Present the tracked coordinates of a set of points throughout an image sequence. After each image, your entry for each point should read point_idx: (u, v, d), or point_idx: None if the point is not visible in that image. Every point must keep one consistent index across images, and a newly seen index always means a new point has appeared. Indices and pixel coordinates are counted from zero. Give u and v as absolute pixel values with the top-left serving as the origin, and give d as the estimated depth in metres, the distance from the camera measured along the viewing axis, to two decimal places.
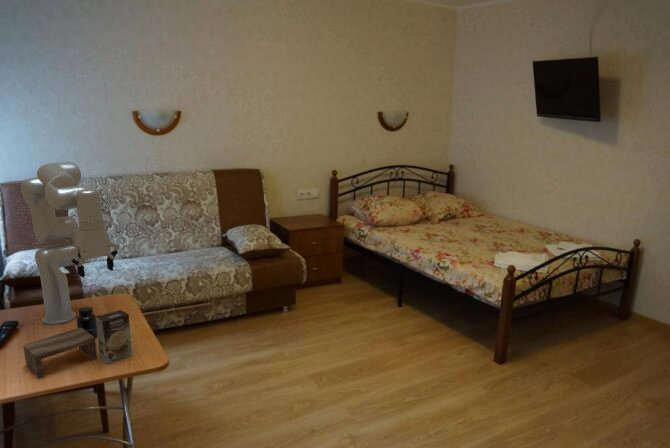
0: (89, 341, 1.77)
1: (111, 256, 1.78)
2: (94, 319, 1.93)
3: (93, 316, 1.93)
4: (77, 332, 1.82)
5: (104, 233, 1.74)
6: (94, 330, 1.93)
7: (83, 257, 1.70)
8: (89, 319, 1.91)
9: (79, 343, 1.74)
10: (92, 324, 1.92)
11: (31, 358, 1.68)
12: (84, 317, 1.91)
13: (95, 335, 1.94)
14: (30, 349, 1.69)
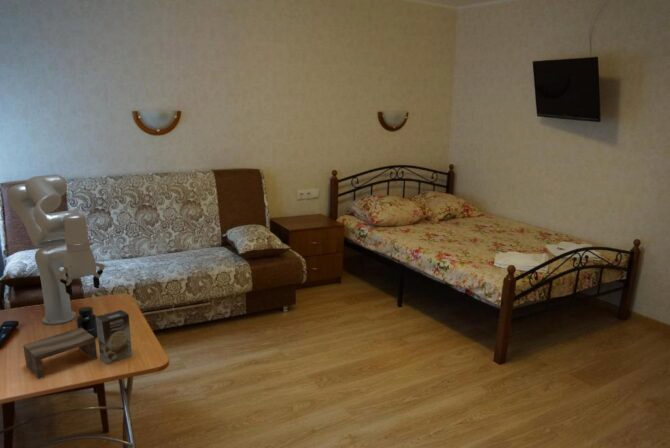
0: (89, 341, 1.77)
1: (97, 275, 1.92)
2: (94, 319, 1.93)
3: (93, 316, 1.93)
4: (77, 332, 1.82)
5: (90, 254, 1.88)
6: (94, 330, 1.93)
7: (70, 277, 1.85)
8: (89, 319, 1.91)
9: (79, 343, 1.74)
10: (92, 324, 1.92)
11: (31, 358, 1.68)
12: (84, 317, 1.91)
13: (95, 335, 1.94)
14: (30, 349, 1.69)
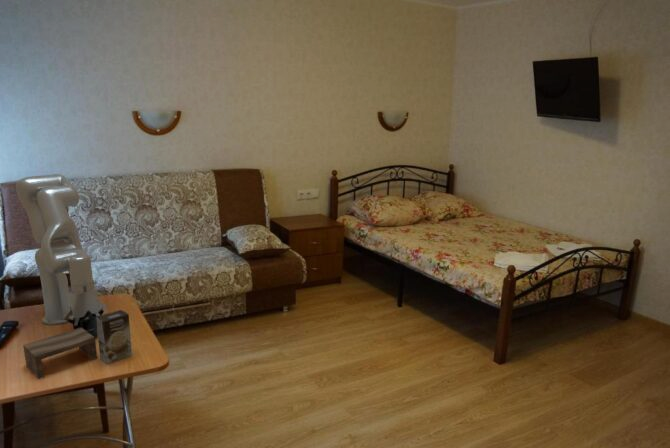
0: (89, 341, 1.77)
1: (98, 315, 1.95)
2: (94, 319, 1.93)
3: (93, 316, 1.93)
4: (77, 332, 1.82)
5: (94, 293, 1.92)
6: (94, 330, 1.93)
7: (75, 316, 1.88)
8: (89, 319, 1.91)
9: (79, 343, 1.74)
10: (92, 324, 1.92)
11: (31, 358, 1.68)
12: (84, 317, 1.91)
13: (95, 335, 1.94)
14: (30, 349, 1.69)
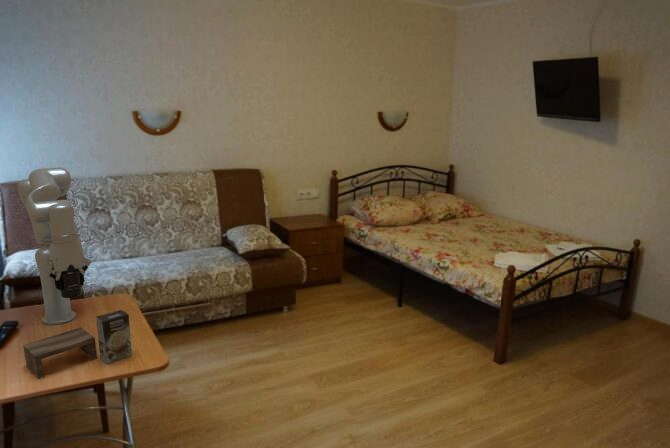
0: (89, 341, 1.77)
1: (81, 271, 1.83)
2: (77, 274, 1.80)
3: (76, 271, 1.80)
4: (77, 332, 1.82)
5: (77, 246, 1.79)
6: (77, 286, 1.80)
7: (56, 270, 1.75)
8: (72, 274, 1.78)
9: (79, 343, 1.74)
10: (75, 279, 1.79)
11: (31, 358, 1.68)
12: (67, 272, 1.78)
13: (79, 292, 1.81)
14: (30, 349, 1.69)
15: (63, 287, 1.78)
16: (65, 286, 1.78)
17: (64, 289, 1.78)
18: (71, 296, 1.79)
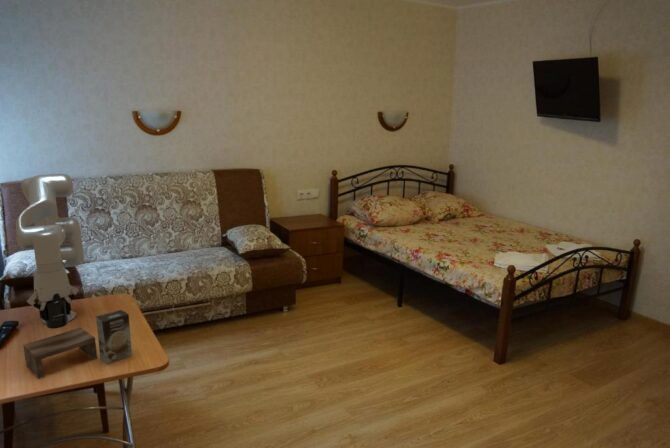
0: (89, 341, 1.77)
1: (68, 300, 1.74)
2: (63, 303, 1.71)
3: (62, 300, 1.72)
4: (77, 332, 1.82)
5: (63, 274, 1.71)
6: (63, 316, 1.72)
7: (41, 300, 1.67)
8: (57, 303, 1.70)
9: (79, 343, 1.74)
10: (60, 309, 1.71)
11: (31, 358, 1.68)
12: (52, 301, 1.69)
13: (65, 322, 1.73)
14: (30, 349, 1.69)
15: (48, 317, 1.70)
16: (49, 316, 1.69)
17: (49, 319, 1.70)
18: (56, 327, 1.71)
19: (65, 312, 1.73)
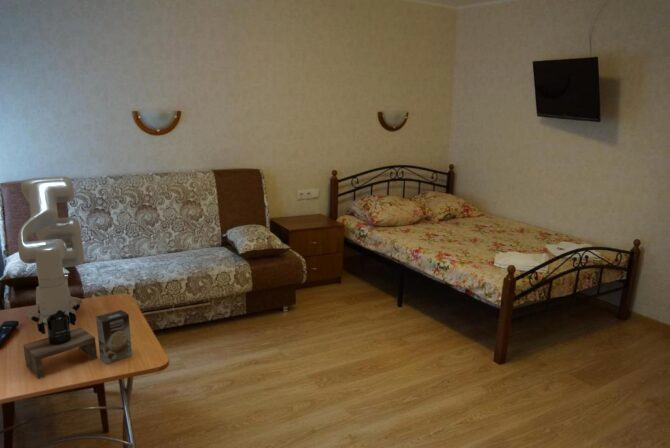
0: (89, 341, 1.77)
1: (73, 311, 1.76)
2: (66, 320, 1.73)
3: (65, 316, 1.73)
4: (77, 332, 1.82)
5: (65, 289, 1.72)
6: (66, 332, 1.74)
7: (43, 314, 1.68)
8: (60, 320, 1.71)
9: (79, 343, 1.74)
10: (63, 325, 1.72)
11: (31, 358, 1.68)
12: (55, 318, 1.71)
13: (67, 337, 1.74)
14: (30, 349, 1.69)
15: (51, 333, 1.71)
16: (52, 332, 1.71)
17: (52, 335, 1.72)
18: (59, 343, 1.72)
19: (68, 328, 1.74)
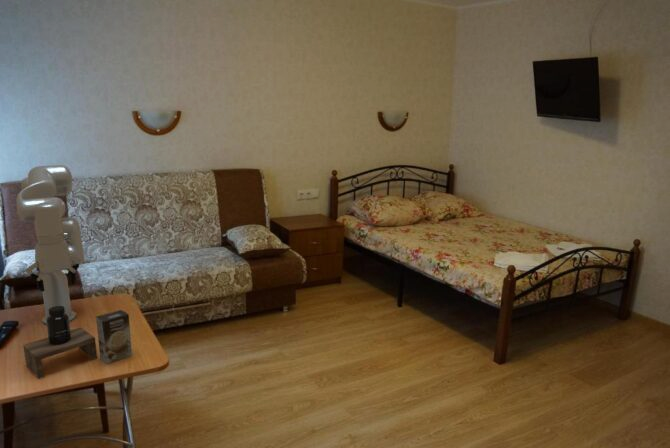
0: (89, 341, 1.77)
1: (72, 269, 1.76)
2: (66, 320, 1.73)
3: (65, 316, 1.73)
4: (77, 332, 1.82)
5: (64, 247, 1.72)
6: (66, 332, 1.74)
7: (42, 271, 1.68)
8: (60, 320, 1.71)
9: (79, 343, 1.74)
10: (63, 325, 1.72)
11: (31, 358, 1.68)
12: (55, 318, 1.71)
13: (67, 337, 1.74)
14: (30, 349, 1.69)
15: (51, 333, 1.71)
16: (52, 332, 1.71)
17: (52, 336, 1.71)
18: (59, 343, 1.72)
19: (68, 328, 1.74)
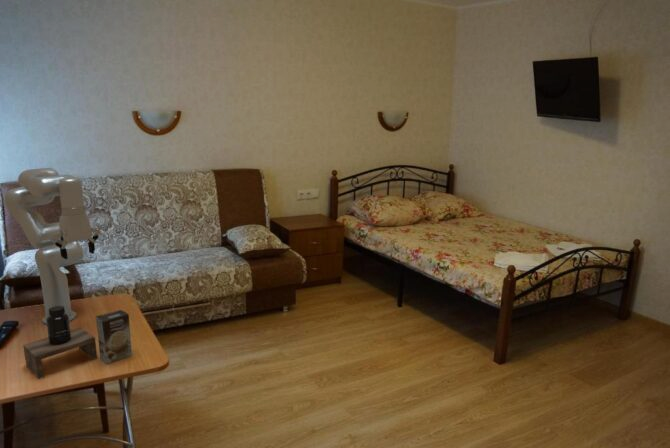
0: (89, 341, 1.77)
1: (92, 240, 1.92)
2: (66, 320, 1.73)
3: (65, 316, 1.73)
4: (77, 332, 1.82)
5: (85, 218, 1.88)
6: (66, 332, 1.74)
7: (65, 240, 1.84)
8: (60, 320, 1.71)
9: (79, 343, 1.74)
10: (63, 325, 1.72)
11: (31, 358, 1.68)
12: (55, 318, 1.71)
13: (67, 337, 1.74)
14: (30, 349, 1.69)
15: (51, 333, 1.71)
16: (52, 332, 1.71)
17: (52, 336, 1.72)
18: (59, 343, 1.72)
19: (68, 328, 1.74)
